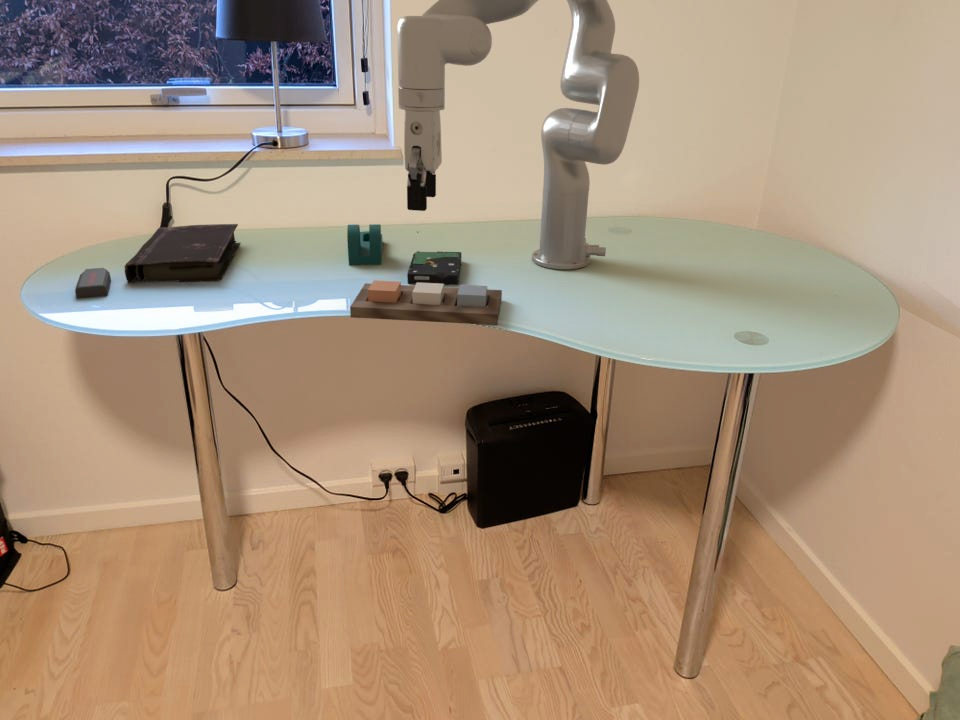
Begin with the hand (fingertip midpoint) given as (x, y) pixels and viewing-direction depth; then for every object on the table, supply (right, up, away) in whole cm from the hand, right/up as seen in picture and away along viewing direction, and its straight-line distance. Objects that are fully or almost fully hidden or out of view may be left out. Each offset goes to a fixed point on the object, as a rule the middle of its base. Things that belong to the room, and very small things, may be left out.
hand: (422, 203), depth 130 cm
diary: (-51, -7, +28) cm, 59 cm away
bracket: (-15, -4, +36) cm, 40 cm away
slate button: (+9, -18, +7) cm, 21 cm away
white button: (+1, -18, +7) cm, 19 cm away
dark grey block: (-64, -14, +14) cm, 67 cm away
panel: (+1, -18, +7) cm, 19 cm away
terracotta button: (-7, -17, +8) cm, 20 cm away
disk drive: (+1, -10, +25) cm, 27 cm away
